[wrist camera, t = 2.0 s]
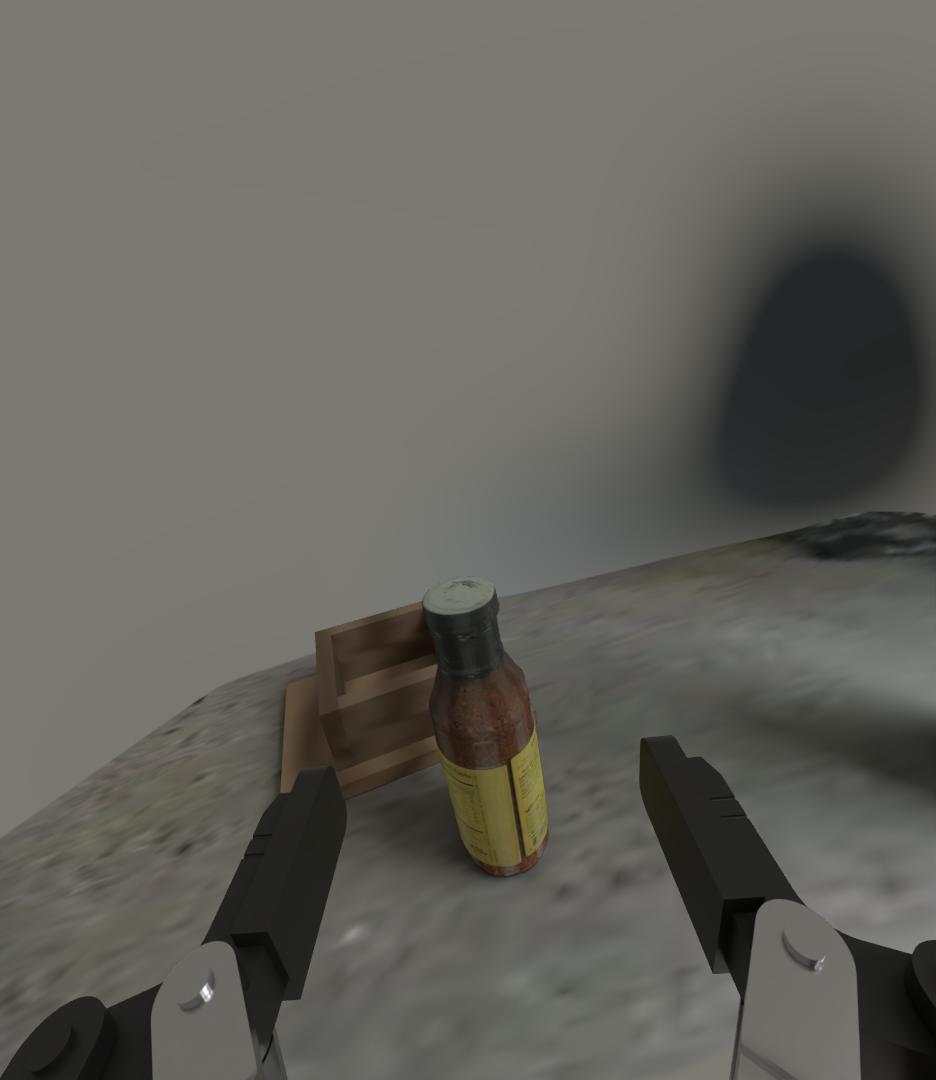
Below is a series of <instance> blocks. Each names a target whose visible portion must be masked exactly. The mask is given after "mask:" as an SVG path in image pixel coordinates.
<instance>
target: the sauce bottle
mask: <svg viewBox="0 0 936 1080" xmlns="http://www.w3.org/2000/svg"><path fill="white" fill-rule="evenodd" d="M422 607H423V613H424V618H425V622H426V624H427V626H428V627H429V628H430V630H431V632H432V637H433V642H434V646H435V650H436V661H437V664H438V666H437V671H436V676H435V681H434V685H433V689H432V692H431V695H430V699H429V711H430V714H431V719H432V723H433V728H434V733H435V739H436V744H437V748H438V752H439V756H440V760H441V764H442V768H443V772H444V776H445V780H446V783H447V787H448V791H449V794H450V798H451V802H452V805H453V808H454V812H455V816H456V820H457V824H458V828H459V831H460V835H461V838H462V841H463V843H464V845H465V847H466V849H467V851H468V853H469V854H470V856H471V857H472V859H474V860H475V862H476V863H477V864H478V865H479V866H480V867H481V868H482V869H484V870H486V871H487V872H488V873H489V874H492V875H494V876H509V875H515V874H518V873H522V872H525V871H528V870H529V869H530V868H531V867H533V866H534V865H535V864H536V863H537V861H538V860H539V859H540V857H541V855H542V852H543V851H544V848H545V846H546V843H547V840H548V828H547V825H548V811H547V804H546V797H545V790H544V784H543V777H542V770H541V764H540V756H539V749H538V742H537V734H536V727H535V720H534V715H533V713H532V710H531V707H530V699H529V691H528V688H527V685H526V682H525V676H524V674H523V671H522V670H521V669H520V668H519V667H518V666H517V665H516V664H515V663H514V661H513V660H512V659H511V658H510V657H509V655H508V654H507V653H506V652H505V651H504V649H503V644H502V642H501V640H500V634H499V628H498V623H497V617H496V616H497V614H498V611H499V602H498V599H497V594H496V589H495V587H494V586H493V584H492V583H491V582H490V581H488V580H486V579H483V578H481V577H470V576H468V577H456V578H450V579H446V580H444V581H441V582H439V583H437V584H436V585H434V586H433V587H432V588H430V589H429V590H428V591H427V592H426V594H425V595H424V597H423V599H422Z"/></svg>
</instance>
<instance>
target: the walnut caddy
mask: <svg viewBox="0 0 936 1080" xmlns="http://www.w3.org/2000/svg"><path fill="white" fill-rule="evenodd" d="M315 641H316V662H317V675H313V676H310V677H307V678H304V679H301V680H298V681H294V682H291V683H288V684H287V688H286V705H285V722H284V739H283V756H282V773H281V790H280V793H288V792H291V789H292V787H293V785H294V782H295V780H296V778H297V775H298V773H299V772H300V770H301V769H303V768H310V767H321V766H332V767H333V768H334V770H335V773H336V776H337V779H338V782H339V786H340V789H341V792H342V795H343V798H344V800H346V799H348V798H351V797H353V796H356V795H358V794H361V793H363V792H366V791H368V790H371V789H373V788H376V787H378V786H381V785H383V784H386V783H388V782H391V781H393V780H396V779H398V778H401V777H403V776H406V775H408V774H411V773H413V772H416V771H418V770H421V769H423V768H426V767H428V766H431V765H433V764H436V763H438V762H441V760H440V756H439V752H438V748H437V744H436V739H435V733H434V728H433V723H432V719H431V714H430V711H429V699H430V695H431V692H432V689H433V685H434V681H435V676H436V671H437V666H438V664H437V661H436V650H435V646H434V642H433V637H432V632H431V630H430V628H429V627H428V626H427V624H426V622H425V618H424V613H423V607H422V601H421V602H418V603H414V604H411V605H407V606H404V607H400V608H397V609H394V610H390V611H387V612H383V613H380V614H377V615H373V616H370V617H366V618H363V619H359V620H356V621H352V622H349V623H345V624H342V625H338V626H335V627H332V628H328V629H325V630H321V631H318V632H315ZM530 707H531V710H532V713H533V715H534V720H535V724H536V723H537V719H536V710H535V709H534V707H533V706H532V705H531V703H530Z"/></svg>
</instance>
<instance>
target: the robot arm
mask: <svg viewBox="0 0 936 1080" xmlns="http://www.w3.org/2000/svg"><path fill="white" fill-rule="evenodd" d="M639 782H640V790H641V795H642V799H643V802H644V805H645V808H646V811H647V813H648V816H649V818H650V821H651V823H652V825H653V828H654V830H655V833H656V835H657V838H658V840H659V843H660V845H661V848H662V850H663V852H664V855H665V857H666V860H667V862H668V865H669V867H670V870H671V872H672V875H673V877H674V879H675V882H676V884H677V887H678V889H679V892H680V894H681V897H682V899H683V902H684V904H685V906H686V909H687V911H688V914H689V916H690V919H691V921H692V924H693V926H694V928H695V931H696V933H697V936H698V938H699V941H700V943H701V946H702V948H703V951H704V953H705V955H706V958H707V960H708V963H709V965H710V968H711V970H712V973H713V974H720V973H730V974H731V976H732V978H733V980H734V983H735V985H736V987H737V990H738V992H739V994H740V996H741V997H740V1003H739V1011H738V1018H737V1026H736V1033H735V1041H734V1048H733V1056H732V1063H731V1071H730V1078H729V1080H936V940H930V941H925V942H922V943H920V944H919V945H918V946H916V948H915V950H914V952H913V954H909V953H905V952H901V951H898V950H894V949H891V948H887V947H884V946H880V945H876V944H873V943H869V942H866V941H862V940H859V939H856V938H853V937H850V936H848V935H846V934H844V933H842V932H840V931H838V930H836V929H835V928H833V927H832V926H831V925H830V924H829V923H828V922H827V921H826V920H825V919H823V918H822V917H821V916H820V915H818V914H817V913H816V912H814V911H813V910H811V909H809V908H808V907H807V906H806V905H805V904H804V903H803V902H802V901H801V899H800V898H799V897H798V895H797V894H796V893H795V891H794V890H793V888H792V887H791V885H790V883H789V882H788V880H787V879H786V877H785V876H784V874H783V872H782V871H781V869H780V868H779V866H778V864H777V863H776V861H775V860H774V858H773V856H772V855H771V853H770V852H769V850H768V849H767V847H766V845H765V844H764V842H763V841H762V839H761V837H760V836H759V834H758V833H757V831H756V829H755V828H754V826H753V825H752V823H751V822H750V820H749V819H747V817H746V814H745V812H744V810H743V809H742V807H741V806H740V804H739V802H738V801H737V800H735V797H734V795H733V793H732V791H731V790H730V788H729V787H728V785H727V783H726V782H725V780H724V779H723V777H722V775H721V774H720V773H719V772H718V771H716V770H715V769H714V768H713V767H712V766H711V765H710V764H708V763H707V762H706V761H705V760H704V759H703V758H702V757H691V758H687V757H686V756H685V754H684V752H683V750H682V749H681V747H680V745H679V743H678V742H677V740H676V739H675V737H673V736H672V735H670V736H659V737H648V738H642V739H641V744H640V777H639ZM346 822H347V811H346V805H345V801H344V798H343V795H342V792H341V789H340V786H339V782H338V779H337V776H336V773H335V770H334V768H333V767H332V766H321V767H310V768H303V769H301V770H300V772H299V773H298V775H297V778H296V780H295V782H294V785H293V787H292V789H291V792H288V793H280V794H279V795H278V796H277V798H276V799H275V800H274V801H273V802H272V803H271V805H270V806H269V807H268V808H267V809H266V811H265V812H264V813H263V815H262V817H261V819H260V821H259V824H258V826H257V828H256V830H255V832H254V834H253V839H252V840H251V841H250V843H249V845H248V847H247V849H246V852H245V854H244V859H242V860H241V862H240V865H239V867H238V869H237V871H236V873H235V875H234V877H233V880H232V882H231V884H230V886H229V888H228V890H227V892H226V895H225V897H224V899H223V901H222V903H221V905H220V908H219V910H218V912H217V914H216V916H215V918H214V920H213V923H212V925H211V927H210V929H209V931H208V933H207V935H206V937H205V939H204V941H203V942H202V944H201V945H200V946H199V947H197V948H196V949H194V950H193V951H191V952H190V953H189V954H188V955H186V956H185V957H184V958H183V959H182V960H181V961H180V962H179V963H178V964H177V965H176V966H175V967H174V968H173V970H172V971H171V972H170V973H169V975H168V976H167V978H166V979H165V981H164V982H162V983H161V984H159V985H157V986H155V987H153V988H151V989H149V990H146V991H144V992H142V993H140V994H138V995H135V996H133V997H131V998H129V999H127V1000H125V1001H122V1002H120V1003H118V1004H116V1005H114V1006H111V1007H109V1008H107V1009H106V1007H105V1006H104V1005H103V1004H102V1002H101V1001H100V1000H99V999H97V998H95V997H92V996H87V997H81V998H78V999H75V1000H73V1001H71V1002H69V1003H67V1004H65V1005H64V1006H62V1007H60V1008H59V1009H58V1010H56V1011H55V1012H53V1013H52V1014H51V1015H50V1016H49V1017H47V1018H46V1019H45V1020H44V1021H43V1022H42V1023H41V1024H40V1025H39V1026H38V1027H37V1028H36V1029H35V1030H34V1031H33V1032H32V1033H31V1034H30V1035H29V1037H28V1038H27V1039H26V1040H25V1042H24V1043H23V1044H22V1045H21V1047H20V1048H19V1050H18V1051H17V1052H16V1054H15V1055H14V1057H13V1058H12V1060H11V1062H10V1063H9V1065H8V1066H7V1068H6V1070H5V1071H4V1073H3V1074H2V1076H1V1078H0V1080H288V1079H287V1075H286V1070H285V1066H284V1062H283V1058H282V1053H281V1049H280V1045H279V1041H278V1036H277V1032H276V1029H275V1023H276V1019H277V1016H278V1013H279V1009H280V1006H281V1002H282V1001H285V1000H300V999H301V995H302V991H303V987H304V984H305V980H306V976H307V972H308V969H309V965H310V961H311V958H312V954H313V950H314V946H315V943H316V939H317V935H318V931H319V928H320V924H321V920H322V916H323V913H324V909H325V905H326V902H327V898H328V894H329V890H330V887H331V883H332V879H333V875H334V872H335V868H336V864H337V860H338V857H339V853H340V849H341V846H342V842H343V838H344V834H345V830H346Z"/></svg>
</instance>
